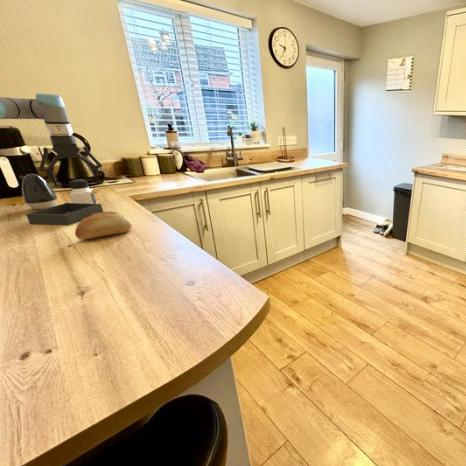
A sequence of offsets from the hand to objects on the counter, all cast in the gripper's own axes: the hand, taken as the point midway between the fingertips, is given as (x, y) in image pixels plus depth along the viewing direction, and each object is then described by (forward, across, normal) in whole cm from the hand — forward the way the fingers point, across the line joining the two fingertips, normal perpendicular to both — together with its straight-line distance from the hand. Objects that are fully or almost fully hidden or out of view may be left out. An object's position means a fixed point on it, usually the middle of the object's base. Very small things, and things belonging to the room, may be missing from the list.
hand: (78, 185), depth 128 cm
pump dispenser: (+10, -14, +8) cm, 19 cm away
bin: (+10, -5, -17) cm, 20 cm away
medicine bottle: (+10, 0, 0) cm, 10 cm away
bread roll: (+10, +5, -50) cm, 51 cm away
